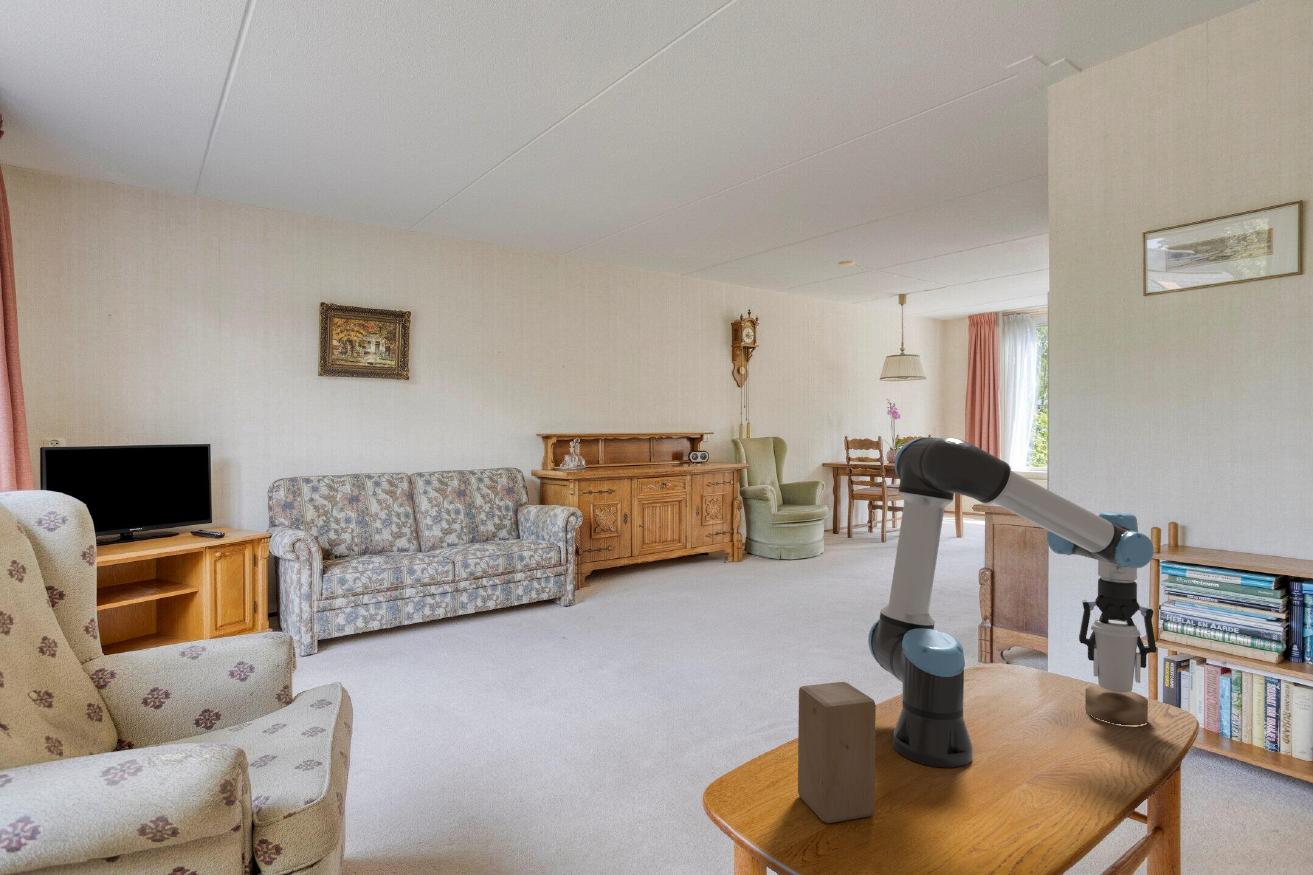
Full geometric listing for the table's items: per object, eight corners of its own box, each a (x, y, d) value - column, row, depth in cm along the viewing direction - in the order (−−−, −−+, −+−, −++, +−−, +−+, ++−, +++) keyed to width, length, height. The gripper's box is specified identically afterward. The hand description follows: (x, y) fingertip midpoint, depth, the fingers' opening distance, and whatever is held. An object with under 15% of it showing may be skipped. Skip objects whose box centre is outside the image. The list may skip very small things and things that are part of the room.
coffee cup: (1099, 676, 164) (1099, 614, 164) (1146, 687, 157) (1146, 623, 157) (1084, 685, 158) (1084, 621, 158) (1132, 697, 151) (1132, 630, 151)
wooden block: (824, 826, 112) (825, 705, 112) (795, 795, 122) (796, 684, 122) (877, 817, 115) (878, 699, 115) (844, 787, 125) (845, 679, 124)
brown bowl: (1086, 720, 155) (1087, 698, 155) (1083, 702, 166) (1083, 682, 166) (1151, 732, 149) (1151, 709, 149) (1143, 713, 160) (1143, 691, 160)
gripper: (1066, 577, 159) (1065, 674, 159) (1174, 587, 149) (1173, 691, 149) (1065, 571, 166) (1064, 665, 166) (1168, 581, 156) (1167, 680, 156)
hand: (1116, 677), depth 158 cm, fingers closed on coffee cup, 7 cm apart
